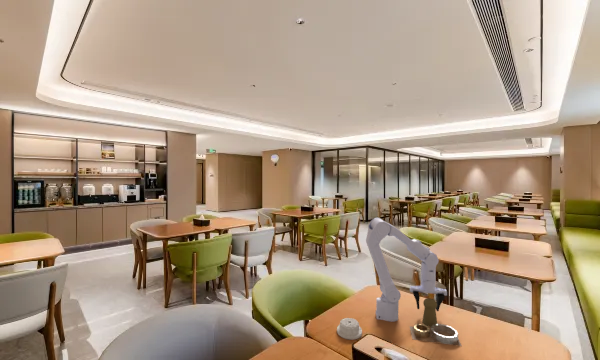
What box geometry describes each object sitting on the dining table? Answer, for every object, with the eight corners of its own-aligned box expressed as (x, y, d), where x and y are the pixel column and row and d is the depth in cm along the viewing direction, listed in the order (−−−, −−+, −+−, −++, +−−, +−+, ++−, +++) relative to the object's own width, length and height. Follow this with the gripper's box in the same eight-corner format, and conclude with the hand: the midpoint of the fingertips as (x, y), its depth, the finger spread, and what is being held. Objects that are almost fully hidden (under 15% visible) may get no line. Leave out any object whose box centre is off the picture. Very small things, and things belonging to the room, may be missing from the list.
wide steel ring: (433, 342, 107) (433, 335, 107) (429, 328, 116) (429, 322, 115) (460, 345, 104) (460, 339, 104) (453, 331, 113) (454, 325, 113)
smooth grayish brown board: (412, 341, 109) (412, 339, 109) (409, 328, 117) (409, 326, 117) (461, 348, 104) (461, 346, 104) (455, 334, 113) (455, 332, 113)
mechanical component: (366, 332, 115) (346, 323, 122) (367, 322, 115) (346, 313, 122) (352, 343, 108) (331, 332, 115) (352, 332, 108) (331, 322, 115)
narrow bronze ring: (415, 337, 110) (415, 330, 110) (413, 328, 115) (413, 322, 115) (430, 339, 109) (430, 332, 108) (428, 330, 114) (428, 324, 114)
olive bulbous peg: (439, 330, 116) (440, 303, 115) (423, 328, 117) (424, 302, 117) (435, 322, 122) (436, 297, 121) (420, 320, 123) (420, 295, 123)
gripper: (444, 276, 126) (443, 306, 127) (409, 273, 129) (408, 302, 130) (448, 282, 119) (447, 314, 120) (411, 279, 122) (410, 310, 123)
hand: (427, 309), depth 124 cm, fingers open, 7 cm apart
